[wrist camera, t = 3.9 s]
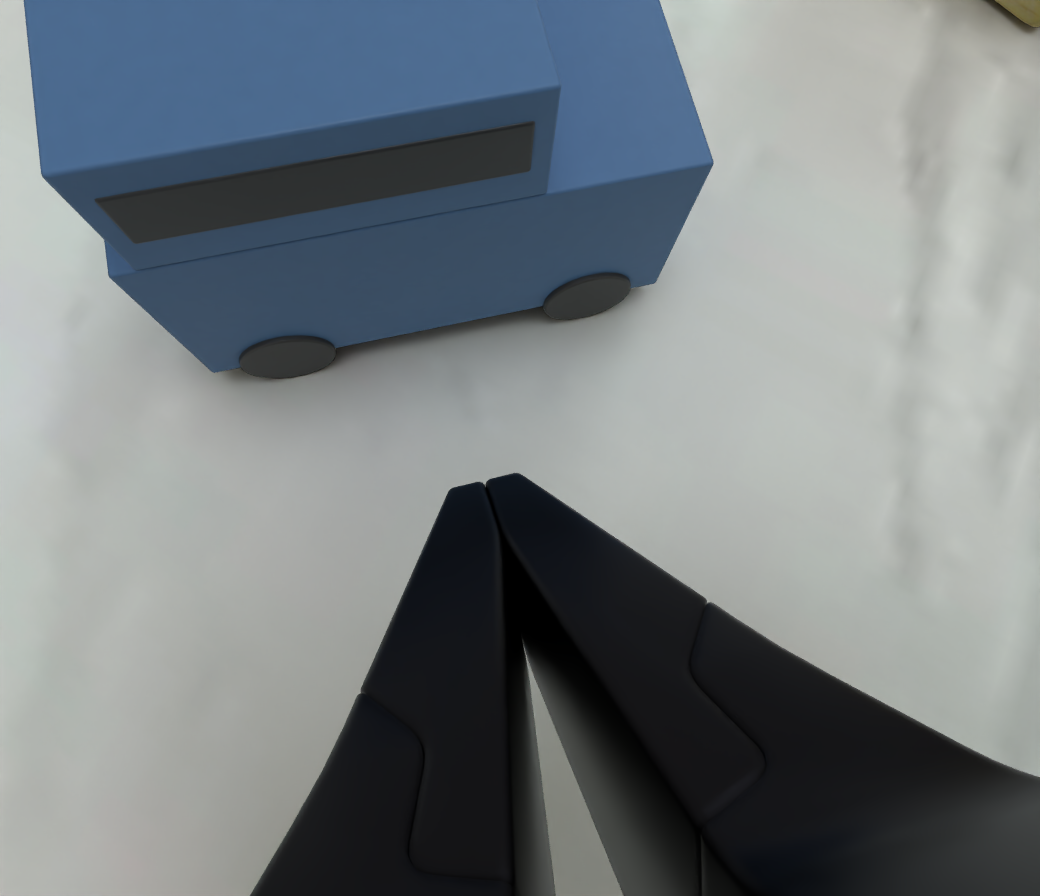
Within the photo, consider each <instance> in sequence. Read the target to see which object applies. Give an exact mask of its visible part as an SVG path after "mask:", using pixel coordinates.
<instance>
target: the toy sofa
mask: <svg viewBox="0 0 1040 896" xmlns="http://www.w3.org/2000/svg"><path fill="white" fill-rule="evenodd" d="M995 1H996V2H997V3H999V4H1000V5H1001V6H1003V7H1004V8H1005V9H1007V10H1008V11H1009V12H1011V13H1012V14H1013V15H1015V16H1016V17H1017V18H1019V19H1020V20H1021V21H1023V22H1025V23H1026V24H1028V25H1030V26H1032V27H1040V0H995Z"/></svg>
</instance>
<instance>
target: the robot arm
mask: <svg viewBox="0 0 1040 896" xmlns="http://www.w3.org/2000/svg"><path fill="white" fill-rule="evenodd" d="M523 644H524V646H523ZM524 648H525V651H526V655H527V658H528V661H529V664H530V666H531V669H532V672H533V674H534V677H535V680H536V682H537V685H538V687H539V689H540V692H541V694H542V697H543V699H544V702H545V704H546V707H547V709H548V712H549V714H550V716H551V719H552V721H553V724H554V726H555V729H556V731H557V734H558V736H559V738H560V741H561V743H562V746H563V748H564V751H565V753H566V756H567V758H568V761H569V763H570V765H571V768H572V770H573V773H574V775H575V778H576V780H577V783H578V785H579V787H580V790H581V792H582V795H583V797H584V800H585V802H586V805H587V807H588V809H589V812H590V814H591V817H592V819H593V822H594V824H595V827H596V829H597V832H598V834H599V836H600V839H601V841H602V844H603V846H604V849H605V851H606V854H607V856H608V858H609V861H610V863H611V866H612V868H613V871H614V873H615V876H616V878H617V881H618V883H619V885H620V888H621V890H622V893H623V895H624V896H1040V777H1037V776H1034V775H1031V774H1028V773H1025V772H1021V771H1019V770H1016V769H1014V768H1012V767H1009V766H1007V765H1004V764H1002V763H999V762H997V761H994V760H992V759H990V758H988V757H986V756H984V755H982V754H980V753H978V752H976V751H974V750H972V749H970V748H968V747H966V746H964V745H962V744H960V743H958V742H956V741H954V740H952V739H951V738H949V737H947V736H945V735H943V734H941V733H939V732H937V731H935V730H934V729H932V728H930V727H928V726H926V725H924V724H922V723H920V722H918V721H917V720H915V719H913V718H911V717H909V716H907V715H905V714H903V713H901V712H900V711H898V710H896V709H894V708H892V707H890V706H888V705H886V704H885V703H883V702H881V701H879V700H877V699H875V698H873V697H871V696H869V695H868V694H866V693H864V692H862V691H860V690H858V689H856V688H854V687H852V686H851V685H849V684H847V683H845V682H843V681H841V680H839V679H837V678H835V677H834V676H832V675H830V674H828V673H826V672H825V671H823V670H821V669H819V668H817V667H816V666H814V665H812V664H810V663H809V662H807V661H805V660H803V659H801V658H800V657H798V656H796V655H794V654H793V653H791V652H789V651H787V650H785V649H784V648H782V647H780V646H779V645H777V644H775V643H774V642H772V641H771V640H769V639H767V638H766V637H764V636H763V635H761V634H760V633H758V632H756V631H755V630H753V629H752V628H750V627H748V626H747V625H745V624H744V623H742V622H741V621H739V620H737V619H736V618H734V617H733V616H731V615H730V614H728V613H727V612H725V611H724V610H722V609H721V608H720V607H718V606H717V605H715V604H714V603H711V602H710V603H707V600H706V599H705V598H704V597H703V596H701V595H700V594H698V593H697V592H695V591H694V590H692V589H691V588H689V587H688V586H686V585H685V584H683V583H682V582H680V581H679V580H677V579H676V578H674V577H673V576H671V575H670V574H668V573H667V572H666V571H664V570H663V569H661V568H660V567H658V566H657V565H655V564H654V563H652V562H651V561H649V560H648V559H646V558H645V557H643V556H642V555H640V554H639V553H637V552H636V551H634V550H633V549H631V548H630V547H628V546H627V545H625V544H624V543H622V542H621V541H619V540H618V539H616V538H615V537H614V536H612V535H611V534H609V533H608V532H606V531H605V530H603V529H602V528H600V527H599V526H597V525H596V524H594V523H593V522H591V521H590V520H588V519H587V518H585V517H584V516H582V515H581V514H579V513H578V512H576V511H575V510H573V509H572V508H570V507H569V506H567V505H566V504H565V503H563V502H562V501H560V500H559V499H557V498H556V497H554V496H553V495H551V494H550V493H548V492H547V491H545V490H544V489H542V488H541V487H539V486H538V485H536V484H535V483H533V482H532V481H530V480H529V479H527V478H526V477H524V476H523V475H521V474H519V473H513V474H509V475H504V476H500V477H496V478H492V479H489V480H488V481H487V482H486V487H485V485H484V484H483V483H481V482H475V483H471V484H467V485H462V486H458V487H454V488H451V489H450V490H449V492H448V494H447V496H446V498H445V500H444V503H443V505H442V507H441V509H440V512H439V514H438V516H437V518H436V521H435V523H434V525H433V527H432V530H431V532H430V534H429V536H428V539H427V541H426V543H425V545H424V548H423V550H422V552H421V554H420V557H419V559H418V561H417V563H416V566H415V568H414V570H413V572H412V575H411V577H410V579H409V581H408V584H407V586H406V588H405V590H404V593H403V595H402V597H401V599H400V602H399V604H398V606H397V608H396V611H395V613H394V615H393V617H392V620H391V622H390V624H389V626H388V629H387V631H386V633H385V635H384V638H383V640H382V642H381V644H380V647H379V649H378V651H377V653H376V656H375V658H374V660H373V662H372V665H371V667H370V669H369V671H368V674H367V676H366V678H365V680H364V683H363V685H362V687H361V693H360V694H359V695H358V696H357V697H356V700H355V702H354V704H353V707H352V709H351V711H350V713H349V716H348V718H347V720H346V723H345V725H344V727H343V729H342V731H341V733H340V735H339V737H338V739H337V741H336V743H335V746H334V748H333V750H332V752H331V754H330V756H329V758H328V760H327V762H326V764H325V766H324V768H323V770H322V772H321V774H320V776H319V777H318V779H317V781H316V783H315V785H314V786H313V788H312V790H311V792H310V794H309V795H308V797H307V799H306V801H305V802H304V804H303V806H302V808H301V810H300V811H299V813H298V815H297V817H296V818H295V820H294V822H293V824H292V826H291V827H290V829H289V831H288V832H287V834H286V836H285V837H284V839H283V841H282V843H281V844H280V846H279V848H278V849H277V851H276V853H275V854H274V856H273V858H272V859H271V861H270V863H269V864H268V866H267V868H266V870H265V871H264V873H263V875H262V876H261V878H260V880H259V881H258V883H257V885H256V886H255V888H254V890H253V891H252V893H251V895H250V896H556V894H555V885H554V877H553V869H552V861H551V853H550V844H549V836H548V828H547V820H546V812H545V803H544V795H543V787H542V779H541V771H540V762H539V754H538V746H537V738H536V730H535V721H534V713H533V705H532V697H531V689H530V680H529V674H528V667H527V661H526V656H525V651H524Z"/></svg>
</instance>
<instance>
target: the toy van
mask: <svg viewBox="0 0 1040 896" xmlns="http://www.w3.org/2000/svg"><path fill="white" fill-rule="evenodd" d="M24 7H25V17H26V27H27V37H28V47H29V57H30V67H31V77H32V87H33V97H34V107H35V117H36V126H37V136H38V146H39V156H40V166H41V174H42V177H43V178H44V179H45V180H46V181H47V182H48V183H49V184H50V185H51V186H52V187H53V188H54V189H55V190H56V191H57V192H58V193H59V194H60V195H61V196H62V197H63V198H64V199H65V200H66V201H67V202H68V203H69V204H70V205H71V206H72V207H73V208H74V209H75V210H76V211H77V212H78V213H79V214H80V215H81V216H82V217H83V218H84V219H85V220H86V222H87V223H88V224H89V225H90V226H91V227H92V228H93V229H94V230H95V231H96V232H97V233H98V234H99V235H100V236H101V237H102V238H103V239H104V242H105V250H106V258H107V267H108V275H109V277H110V278H111V279H112V280H113V281H114V282H115V283H116V284H117V285H118V286H119V287H120V288H122V289H123V290H124V291H125V292H126V293H127V294H128V295H129V296H130V297H131V298H132V299H133V300H135V301H136V302H137V303H138V304H139V305H140V306H141V307H142V308H143V309H144V310H145V311H146V312H148V313H149V314H150V315H151V316H152V317H153V318H154V319H155V320H156V321H157V322H158V323H159V324H161V325H162V326H163V327H164V328H165V329H166V330H167V331H168V332H169V333H170V334H171V335H172V336H174V337H175V338H176V339H177V340H178V341H179V342H180V343H181V344H182V345H183V346H184V347H186V348H187V349H188V350H189V351H190V352H191V353H192V354H193V355H194V356H195V357H196V358H197V359H199V360H200V361H201V362H202V363H203V364H204V365H205V366H206V367H207V368H208V369H209V370H210V371H212V372H214V373H215V372H220V371H225V370H230V369H235V368H240V367H241V368H242V369H243V370H244V371H245V372H247V373H249V374H251V375H254V376H259V377H265V378H287V377H295V376H300V375H305V374H308V373H312V372H315V371H317V370H320V369H322V368H324V367H326V366H327V365H329V364H330V363H331V362H332V361H333V360H334V358H335V355H336V350H335V348H338V347H343V346H348V345H353V344H358V343H363V342H368V341H373V340H378V339H383V338H388V337H393V336H397V335H402V334H407V333H412V332H417V331H422V330H427V329H432V328H437V327H442V326H447V325H452V324H457V323H462V322H467V321H471V320H476V319H481V318H486V317H491V316H496V315H501V314H506V313H511V312H516V311H521V310H526V309H531V308H536V307H540V306H543V307H544V311H545V313H546V314H547V315H548V316H550V317H552V318H555V319H577V318H583V317H587V316H591V315H594V314H597V313H600V312H602V311H604V310H607V309H609V308H611V307H613V306H614V305H616V304H618V303H619V302H620V301H622V300H623V299H624V298H625V297H626V296H627V295H628V293H629V292H630V289H631V288H634V287H639V286H644V285H649V284H654V283H655V282H656V280H657V278H658V276H659V274H660V272H661V270H662V268H663V266H664V264H665V262H666V260H667V258H668V256H669V254H670V252H671V250H672V248H673V246H674V244H675V242H676V239H677V237H678V235H679V233H680V231H681V229H682V227H683V225H684V223H685V221H686V219H687V217H688V215H689V213H690V211H691V209H692V207H693V205H694V203H695V201H696V199H697V197H698V194H699V192H700V190H701V188H702V186H703V184H704V182H705V180H706V178H707V176H708V174H709V172H710V170H711V168H712V166H713V159H712V156H711V153H710V150H709V147H708V144H707V141H706V138H705V135H704V132H703V129H702V126H701V123H700V120H699V117H698V114H697V111H696V108H695V105H694V102H693V99H692V96H691V93H690V90H689V87H688V84H687V82H686V79H685V76H684V73H683V70H682V67H681V64H680V61H679V58H678V55H677V52H676V49H675V46H674V43H673V40H672V37H671V34H670V31H669V28H668V25H667V22H666V19H665V16H664V13H663V10H662V7H661V4H660V1H659V0H24Z"/></svg>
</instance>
